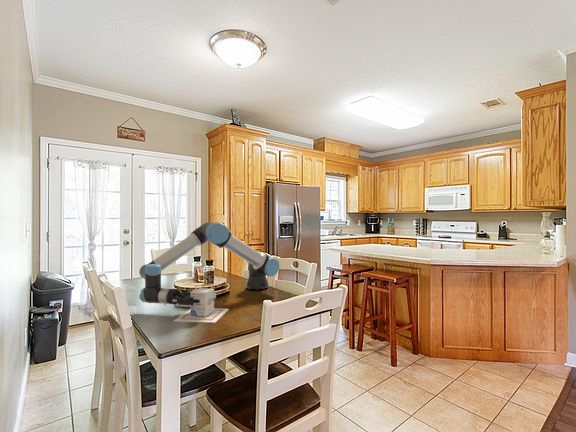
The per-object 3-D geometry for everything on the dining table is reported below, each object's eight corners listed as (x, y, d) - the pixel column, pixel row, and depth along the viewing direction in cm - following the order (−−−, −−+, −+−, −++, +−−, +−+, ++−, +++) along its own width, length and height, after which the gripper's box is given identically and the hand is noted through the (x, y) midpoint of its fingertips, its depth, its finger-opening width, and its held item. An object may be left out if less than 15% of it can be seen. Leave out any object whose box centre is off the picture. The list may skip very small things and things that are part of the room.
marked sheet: (228, 309, 159) (228, 308, 159) (215, 322, 139) (215, 321, 139) (192, 308, 161) (192, 307, 161) (173, 321, 141) (173, 320, 141)
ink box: (189, 315, 147) (189, 291, 147) (199, 310, 155) (199, 287, 155) (205, 316, 145) (205, 292, 145) (214, 311, 153) (214, 288, 153)
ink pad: (211, 300, 176) (211, 297, 176) (202, 307, 163) (202, 304, 163) (187, 299, 178) (187, 296, 178) (175, 306, 164) (175, 303, 164)
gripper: (182, 297, 164) (220, 300, 160) (156, 310, 143) (200, 313, 138) (181, 284, 164) (220, 285, 160) (156, 294, 143) (200, 296, 138)
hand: (211, 298), depth 149 cm, fingers open, 9 cm apart
